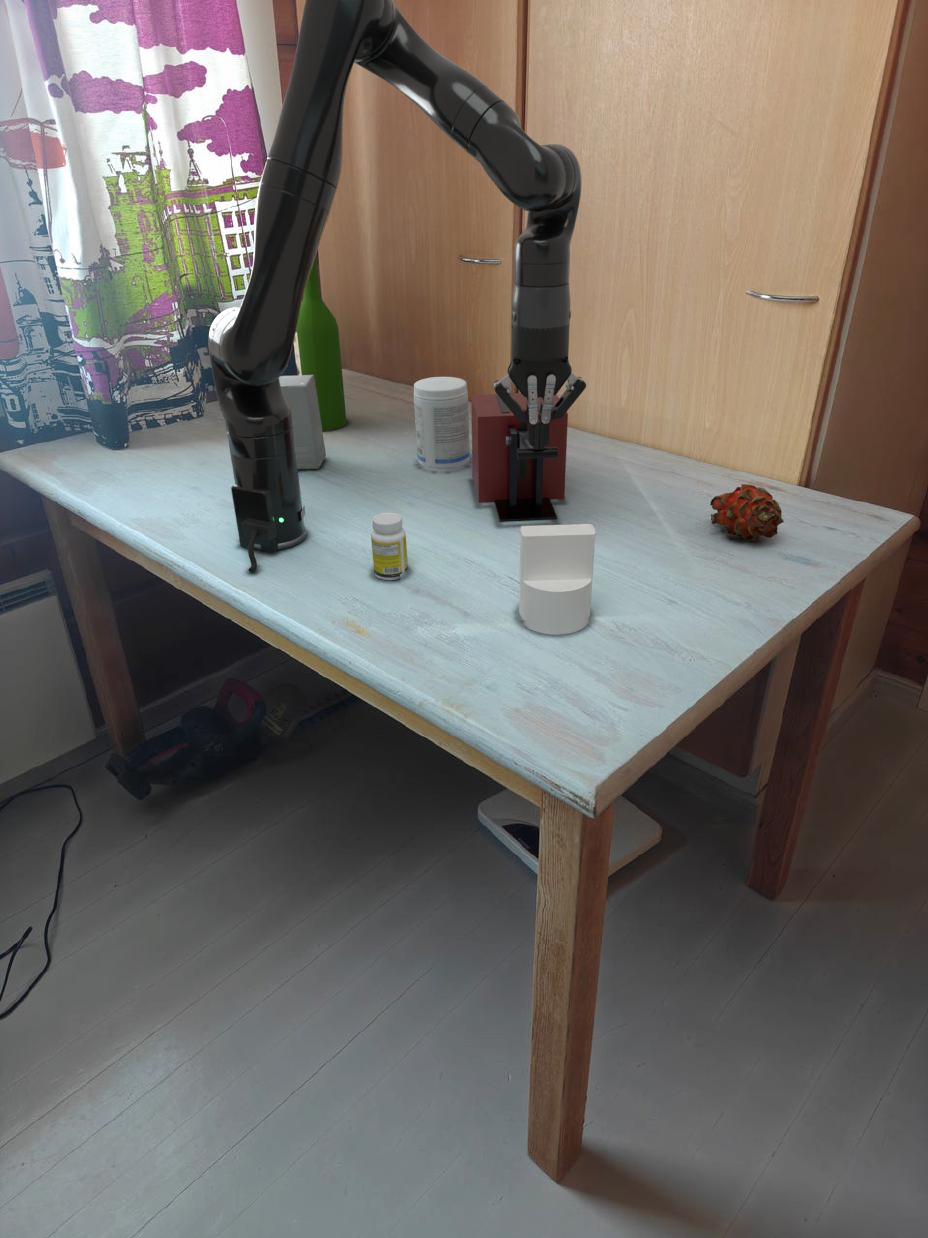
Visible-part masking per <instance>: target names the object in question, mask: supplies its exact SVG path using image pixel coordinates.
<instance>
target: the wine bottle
mask: <svg viewBox="0 0 928 1238" xmlns="http://www.w3.org/2000/svg"><path fill="white" fill-rule="evenodd" d="M318 272H319V271H318V264H317V256H316V257H315V260H314V263H313V266H312V269H311V272H310V275H309V278H308V281H307V284H306V287H305V291H304V295H303V299H302V303H301V308H300V313H299V318H298V323H297V328H296V333H295V338H294V344H293V348H294V349H293V350H294V356H295V357H294V358H295V367H296V376H298V375H314V379H315V386H316V392H317V399H318V405H319V412H320V419H321V425H322V432H329V431H334V430H338V429H342V428H343V427H345V426H346V424H347V413H346V401H345V399H346V398H345V389H344V377H343V365H342V357H341V355H342V354H341V345H340V343H341V342H340V333H339V325H338V322H337V318H336V317H335V316H334V313H332V312H331V310H330V309H329V307H328V305H326V303H325V302H324V300H323V299H322V296H321V291H320V290H321V289H320V282H319V273H318Z"/></svg>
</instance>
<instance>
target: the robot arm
mask: <svg viewBox="0 0 928 1238" xmlns="http://www.w3.org/2000/svg"><path fill="white" fill-rule="evenodd" d="M299 27H300V28H299V33H298V39H297V43H296V49H295V54H294V59H293V64H292V65H293V66H292V70H291V73H290V77H289V81H288V85H287V89H286V92H285V96H284V98H283V103H282V106H281V110H280V114H279V117H278V122H277V125H276V128H275V133H274V136H273V139H272V143H271V145H270V149H269V152H268V154H267V158H266V161H265V165H264V169H263V172H262V175H261V178H260V181H259V186H258V191H257V195H256V202H255V210H254V226H253V227H254V228H253V229H254V230H253V261H252V268H251V273H250V277H249V280H248V284H247V287H246V290H245V293H244V295H243V299H242V302H241V304H240V306H234V307H230V308H229V307H228V308H227V309H225V310H223V311H222V312H221V313H219V314H218V315H217V316H216V317H215V319H214V320H213V322H212V323H211V326H210V328H209V333H208V341H207V342H208V343H207V345H208V353H209V355H208V356H209V360H210V366H211V372H212V377H213V382H214V388H215V392H216V398H217V402H218V406H219V409H220V412H221V414H222V417H223V419H224V425H225V430H226V434H227V443H228V446H229V447H228V448H229V454H230V461H231V468H232V472H233V480H234V484H233V485H232V486H231V487H230V491H231V497H232V503H233V509H234V516H235V521H236V528H237V535H238V542H239V546H240V547H244V548H247V555H248V558H249V562H250V567H248V572H249V573H250V574H253V573H254V572H255V571H257V567H258V562H257V559H256V555H255V550H258V551H262V552H267V553H272V554H273V553H276V552H277V551H279V550H283V549H284V550H285V549H288V548H292V547H294V546H296V545H298V544H300V543H302V542H303V541H304V540H305V539H306V536H307V530H306V526H305V516H306V507H305V505H303V503H302V494H301V487H300V478H299V477H300V476H299V469H298V468H297V459H296V451H295V442H294V433H293V425H292V416H291V410H290V407H289V405H288V403H287V401H286V399H285V397H284V394H283V392H282V389H281V386H280V381H279V377H280V376H283V374H284V372H285V371H286V369H287V367H288V365H289V363H290V360H291V357H292V352H293V348H294V338H295V333H296V328H297V323H298V318H299V313H300V308H301V304H302V301H303V298H304V291H305V287H306V284H307V281H308V278H309V275H310V272H311V269H312V266H313V263H314V260H315V257H316V258H317V253H318V249H319V247H320V243H321V241H322V237H323V234H324V231H325V228H326V226H327V223H328V220H329V217H330V213H331V211H332V206H333V203H334V202H335V201H334V200H335V199H336V198H335V197H336V195H337V191H338V188H339V183H340V180H341V175H342V167H343V157H344V108H345V107H344V106H345V97H346V92H347V87H348V83H349V80H350V76H351V73H352V70H353V66H354V64H355V65H357V66H359V67H361V68H363V69H364V70H367V71H368V72H369V73H372V74H373V75H375V76H377V77H378V78H380V79H382V80H383V81H385V82H386V83H387V84H389V85H390V86H392V87H394V88H395V89H396V90H397V91H399V92H401V93H402V94H403V95H404V96H405V97H406V98H408V99H409V100H410V101H411V102H413V103H414V104H415V105H416V107H418V109H420V110H421V112H423V113H424V114H425V115H426V116H427V117H428V118H429V119H430V120H431V121H432V122H433V123H434V124H435V125H436V126H437V127H438V128H439V129H440V130H441V131H442V132H443V133H444V134H446V136H448V137H449V138H450V139H451V140H452V141H454V142H455V143H456V144H457V145H458V146H459V147H460V148H462V150H464V151H465V152H466V153H467V154H468V155H470V156H471V157H472V158H473V159H474V160H476V162H478V163H479V164H480V166H481V167H482V168H483V170H484V171H485V173H486V175H487V176H488V177H489V179H490V180H491V181H492V182H493V184H494V185H495V186H496V187H497V189H498V190H499V191H500V193H502V195H503V196H504V197H505V198H506V199H507V200H508V201H510V203H512V204H513V205H515V206H516V207H517V208H519V209H520V210H523V211H525V212H527V216H526V217H527V218H526V225H525V228H524V230H523V232H521V234H520V235H519V236H518V237H517V239H516V241H515V245H514V252H513V253H514V255H513V292H512V299H511V359H510V364H509V365H508V367H507V373H506V375H504V376H503V377H502V378H500V379H499V380H494V381H493V383H492V388H493V389H494V392H495V394H497V395H498V396H499V397H500V398H501V400H502V401H503V402H504V403H505V404H506V406H507V407H508V408H509V409H510V411H511V412H512V413H513V414H514V416H515V417H516V418H517V419H518V420H520V421H521V420H524V421H527V422H528V433H527V439H528V442H529V444H530V446H532V447H533V449H534V450H543V449H544V445H548V443H549V426H550V422H551V421H552V420H554V419H557V418H558V419H560V418H562V417H563V416H564V414H565V413H566V412H567V413H568V411H569V410H570V409H571V407H572V406H573V404H574V403H575V402H576V401H577V399H578V398H579V397H580V396H581V394H582V393H583V392H584V391H585V390H586V389H587V383H586V382H585V380H584V379H583V378H582V377H581V376H578V375H576V374H575V373H573V369H572V366H571V364H570V360H569V354H570V353H569V352H570V351H569V350H570V327H571V326H570V323H571V317H572V311H571V292H570V276H571V275H570V271H571V244H572V239H573V235H574V232H575V228H576V222H577V219H578V212H579V209H580V203H581V196H582V186H583V185H582V183H583V181H582V171H581V165H580V162H579V160H578V158H577V156H576V155H575V152H573V150H571V149H570V148H569V147H567V146H566V145H563V144H559V143H550V144H539V143H538V142H537V141H536V140H533V138H531V136H529V135H528V134H527V133H526V132H525V130H523V129H522V123H521V120H520V116H519V114H518V113H517V112H516V110H514V109H513V108H512V106H511V105H510V104H508V102H506V101H505V100H504V99H503V98H501V96H499V95H498V94H497V93H495V91H494V90H492V89H491V88H490V87H489V86H488V85H487V84H486V83H484V82H483V81H481V79H479V78H478V77H476V76H475V75H474V74H473V73H471V72H469V70H467V69H465V67H462V66H460V65H458V64H457V63H455V62H454V61H452V60H450V59H449V58H447V57H445V56H444V55H442V54H441V53H440V52H438V51H437V50H436V49H435V48H433V47H432V46H431V45H430V44H429V43H428V42H426V41H425V39H423V38H422V36H420V34H419V33H418V32H417V31H416V30H415V28H413V26H412V25H411V24H410V23H409V21H408V20H407V18H405V16H404V15H403V13H402V12H401V11H400V10H399V8H398V7H397V6H396V4H395V3H394V0H304V5H303V11H302V16H301V22H300V26H299ZM512 383H513V384H514V386H515V387H516V389H517V391H519V393H521V394H522V395H523V396H524V397H525V400H526V409H523V408H521V406H520V405H519V404H518V403H517V401H516V400H515V399H514V398H513V396H512V395H511V394H512V392H513V387H512ZM564 384H565V388H566V389H565V390H564V392H563V393H562V394H561V396H560V397H558V398H559V399H558V401H557V402H556V403H555V405H554V406H553V397H554V396H555V395H556V394H557V395H558V393H559V392H560V390H561V389H562V388H563V386H564ZM539 397H540V408H539V420H538V409H537V408H538V399H537V398H539ZM552 406H553V407H552Z"/></svg>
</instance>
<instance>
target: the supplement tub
mask: <svg viewBox="0 0 928 1238" xmlns="http://www.w3.org/2000/svg"><path fill="white" fill-rule="evenodd" d="M467 385H468V384H467V381H466V380H465V379H463V378H461V377H460V378H459V377H456V376H455V377H454V376H433V377H426V378H423V379H419V380H417V381H416V382H415V383H413V407H414V421H415V422H414V424H415V436H416V437H415V438H416V451H417V453H416V454H417V462H418V463H419V464H420V465H422V466H424V467H427V468H432V469H453V468H458V467H459V468H460V467H461V466H464V465H466V464H468V463H469V462H470V460H471V449H470V448H471V446H470V445H471V443H470V415H469V414H470V413H469V392H468V386H467Z"/></svg>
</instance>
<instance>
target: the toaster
mask: <svg viewBox="0 0 928 1238" xmlns="http://www.w3.org/2000/svg"><path fill="white" fill-rule="evenodd" d="M510 394H511V395H512V396H513V398H514V399H515V400H516V401H517V403H518V404H519V405H520V406H521V408H523V409H526V400H525V397H524V396H523V395H522V394H521V392H515V393H512V392H511V393H510ZM470 397H471V400H470V401H471V402H470V403H471V467H472V468H471V469H472V470H471V472H472V474H471V475H472V481H473V485H474V489H475V493H476V497H477V502H478V503H479V504H484V503H494V500H503V499H507V446H506V442H505V438H506V436H508V425H514V426H515V429H516V431H528V422H527V421H524V420H521V421H520V420H518V419H517V418H516V417H515V416H514V414H513V413H512V412H511V411H510V409H509V408H508V407H507V406H506V404H505V403H504V402H503V401H502V400H501V398H500V397H499V396H498V395H497V393H492V394H491V393H489V394H487V393H486V394H471V396H470ZM559 398H560V397H559V396H558V393H557V394H556V395H555V396H554V397H553V406H554V405H555V403H556V402H557V401H558V399H559ZM537 399H538V408H537V409H538V420H539V408H540V397H539V398H537ZM553 406H552V407H553ZM568 422H569V413H568V411H567V412H566V413H565V414H564V416H563V417H562V418H560V419H558V418H557V419H554V420H552V421H551V422H550V426H549V443H548V445H544V448H549V447H557V449H558V457H557V458H543V487H542V498H547V497H549V499H550V501H552V500H564V499H565V494H566V493H565V491H566V468H567V444H568ZM517 449H519V448H518V447H517ZM532 463H533V459H517V499H525V498H532Z"/></svg>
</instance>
